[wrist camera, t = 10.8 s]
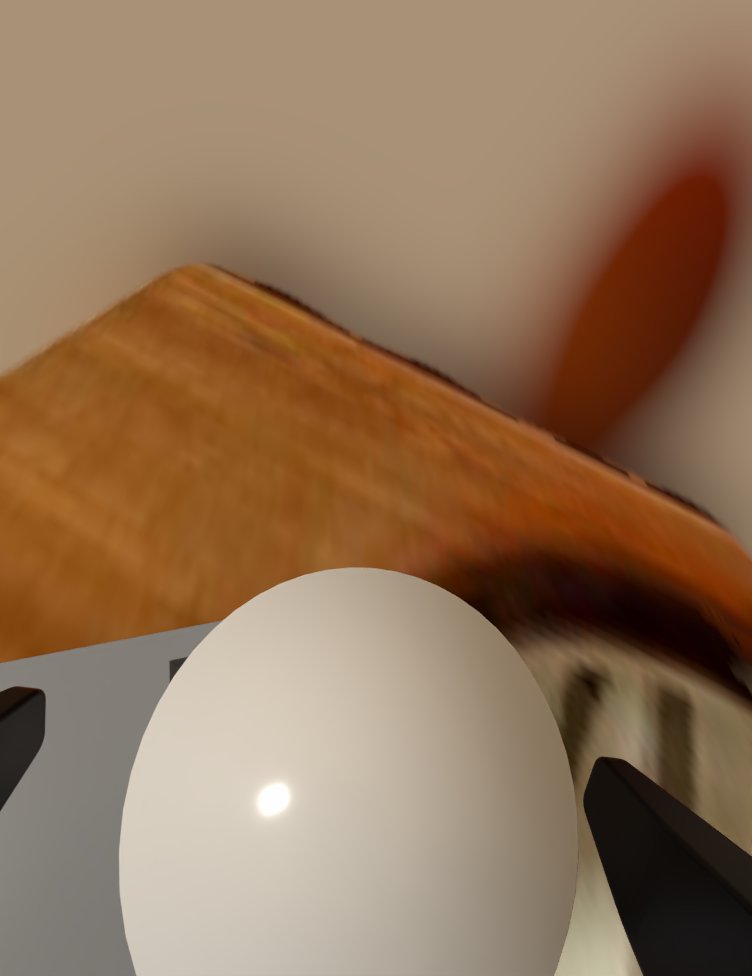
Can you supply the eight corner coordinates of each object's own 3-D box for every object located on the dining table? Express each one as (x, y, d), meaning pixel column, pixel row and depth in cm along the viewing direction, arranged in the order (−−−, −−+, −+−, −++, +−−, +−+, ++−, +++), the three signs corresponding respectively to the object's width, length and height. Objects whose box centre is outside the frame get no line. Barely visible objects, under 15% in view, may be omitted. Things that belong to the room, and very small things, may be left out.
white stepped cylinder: (417, 780, 14) (804, 861, 3) (282, 905, 12) (175, 2100, 1) (335, 649, 16) (416, 423, 5) (204, 739, 14) (-121, 687, 3)
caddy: (474, 867, 13) (527, 900, 10) (-473, 1230, 8) (-912, 1501, 5) (404, 611, 17) (428, 581, 14) (-275, 753, 12) (-465, 752, 9)
